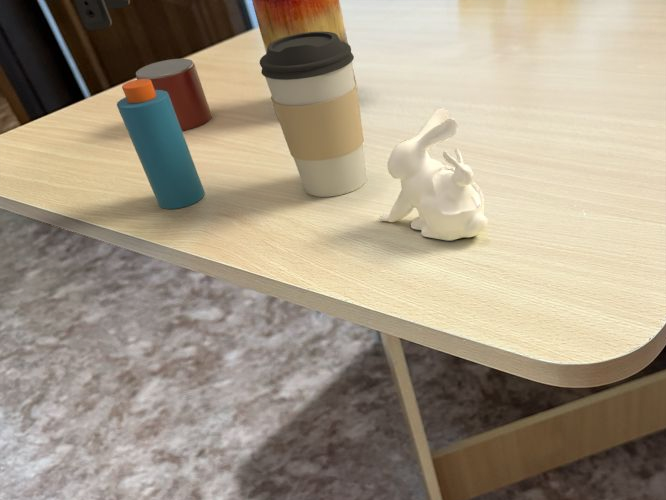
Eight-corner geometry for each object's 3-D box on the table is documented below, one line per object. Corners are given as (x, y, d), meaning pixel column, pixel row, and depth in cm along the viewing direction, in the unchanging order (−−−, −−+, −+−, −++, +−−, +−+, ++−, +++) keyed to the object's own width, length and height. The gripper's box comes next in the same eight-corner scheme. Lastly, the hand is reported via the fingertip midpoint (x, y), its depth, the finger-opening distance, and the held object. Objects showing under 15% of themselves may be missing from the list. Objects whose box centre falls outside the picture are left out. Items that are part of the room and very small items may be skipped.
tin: (152, 136, 93) (129, 80, 88) (160, 116, 98) (140, 64, 94) (209, 126, 93) (190, 71, 89) (214, 107, 99) (196, 55, 95)
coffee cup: (300, 169, 79) (262, 30, 69) (378, 160, 79) (351, 19, 69) (289, 206, 72) (245, 56, 62) (375, 195, 72) (344, 44, 62)
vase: (366, 106, 93) (333, -68, 80) (287, 124, 91) (240, -52, 78) (349, 84, 101) (316, -77, 88) (276, 100, 99) (232, -63, 86)
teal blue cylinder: (155, 212, 74) (105, 95, 66) (162, 192, 78) (115, 80, 70) (202, 204, 74) (158, 86, 66) (207, 185, 78) (165, 72, 70)
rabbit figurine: (375, 220, 67) (355, 123, 61) (429, 190, 71) (415, 96, 65) (464, 256, 60) (452, 150, 54) (519, 220, 64) (513, 118, 58)
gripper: (2, -197, 59) (87, 7, 70) (-65, -199, 48) (47, 43, 59) (91, -209, 60) (162, -5, 70) (45, -214, 49) (137, 29, 59)
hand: (110, 17), depth 64 cm, fingers open, 8 cm apart
